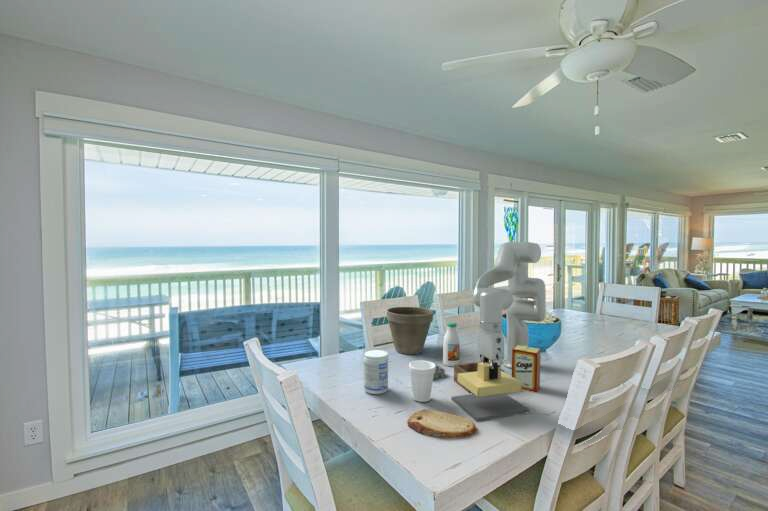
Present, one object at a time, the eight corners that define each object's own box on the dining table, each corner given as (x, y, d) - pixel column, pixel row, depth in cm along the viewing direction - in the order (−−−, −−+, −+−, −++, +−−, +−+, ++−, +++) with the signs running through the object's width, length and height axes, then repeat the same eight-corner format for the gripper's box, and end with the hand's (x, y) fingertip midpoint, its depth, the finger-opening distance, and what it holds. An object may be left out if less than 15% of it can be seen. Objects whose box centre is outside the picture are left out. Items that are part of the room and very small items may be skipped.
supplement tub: (383, 396, 138) (384, 358, 137) (360, 393, 140) (360, 355, 140) (390, 386, 147) (391, 351, 146) (368, 383, 150) (369, 348, 149)
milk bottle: (441, 365, 172) (441, 323, 171) (444, 360, 179) (445, 320, 178) (457, 367, 169) (458, 325, 168) (460, 362, 176) (461, 321, 175)
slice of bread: (482, 432, 113) (482, 420, 113) (438, 449, 104) (438, 437, 104) (443, 409, 129) (443, 399, 128) (401, 422, 119) (402, 411, 119)
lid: (498, 376, 139) (498, 356, 139) (521, 390, 126) (522, 368, 126) (457, 381, 134) (458, 360, 134) (477, 396, 121) (478, 372, 121)
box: (486, 376, 158) (486, 361, 158) (503, 387, 147) (504, 370, 146) (453, 381, 153) (454, 364, 153) (468, 392, 142) (469, 374, 141)
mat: (499, 392, 142) (499, 389, 142) (529, 412, 126) (529, 409, 126) (451, 399, 136) (451, 396, 135) (476, 421, 119) (476, 418, 119)
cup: (428, 407, 129) (428, 371, 128) (403, 401, 134) (403, 366, 133) (439, 397, 137) (440, 363, 137) (416, 391, 143) (416, 358, 142)
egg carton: (426, 381, 153) (426, 372, 153) (417, 375, 160) (417, 366, 160) (447, 377, 158) (447, 367, 158) (437, 371, 165) (437, 362, 165)
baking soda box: (539, 386, 148) (540, 348, 147) (536, 392, 142) (537, 352, 142) (515, 381, 153) (516, 344, 152) (511, 386, 148) (512, 348, 147)
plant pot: (434, 345, 204) (435, 307, 204) (430, 359, 180) (430, 316, 180) (391, 342, 210) (391, 305, 209) (381, 355, 186) (381, 313, 185)
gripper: (514, 330, 123) (513, 384, 123) (486, 320, 138) (485, 367, 139) (495, 332, 120) (494, 386, 121) (468, 321, 136) (467, 369, 137)
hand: (489, 376), depth 130 cm, fingers closed on lid, 4 cm apart
